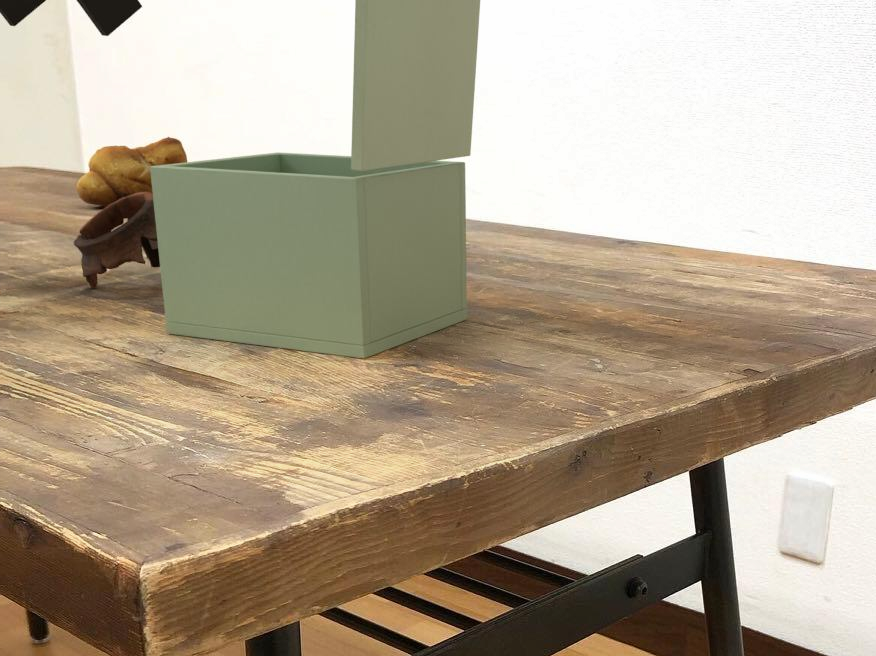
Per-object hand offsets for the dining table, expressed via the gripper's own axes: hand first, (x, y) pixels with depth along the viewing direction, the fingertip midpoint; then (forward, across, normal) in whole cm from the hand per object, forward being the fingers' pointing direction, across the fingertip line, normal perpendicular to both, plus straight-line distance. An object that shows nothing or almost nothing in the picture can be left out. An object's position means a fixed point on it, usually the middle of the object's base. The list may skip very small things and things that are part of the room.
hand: (73, 17), depth 74 cm
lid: (+9, -13, -13) cm, 21 cm away
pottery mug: (+23, +16, +3) cm, 28 cm away
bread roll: (+38, +68, -14) cm, 79 cm away
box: (+23, -6, +1) cm, 24 cm away
